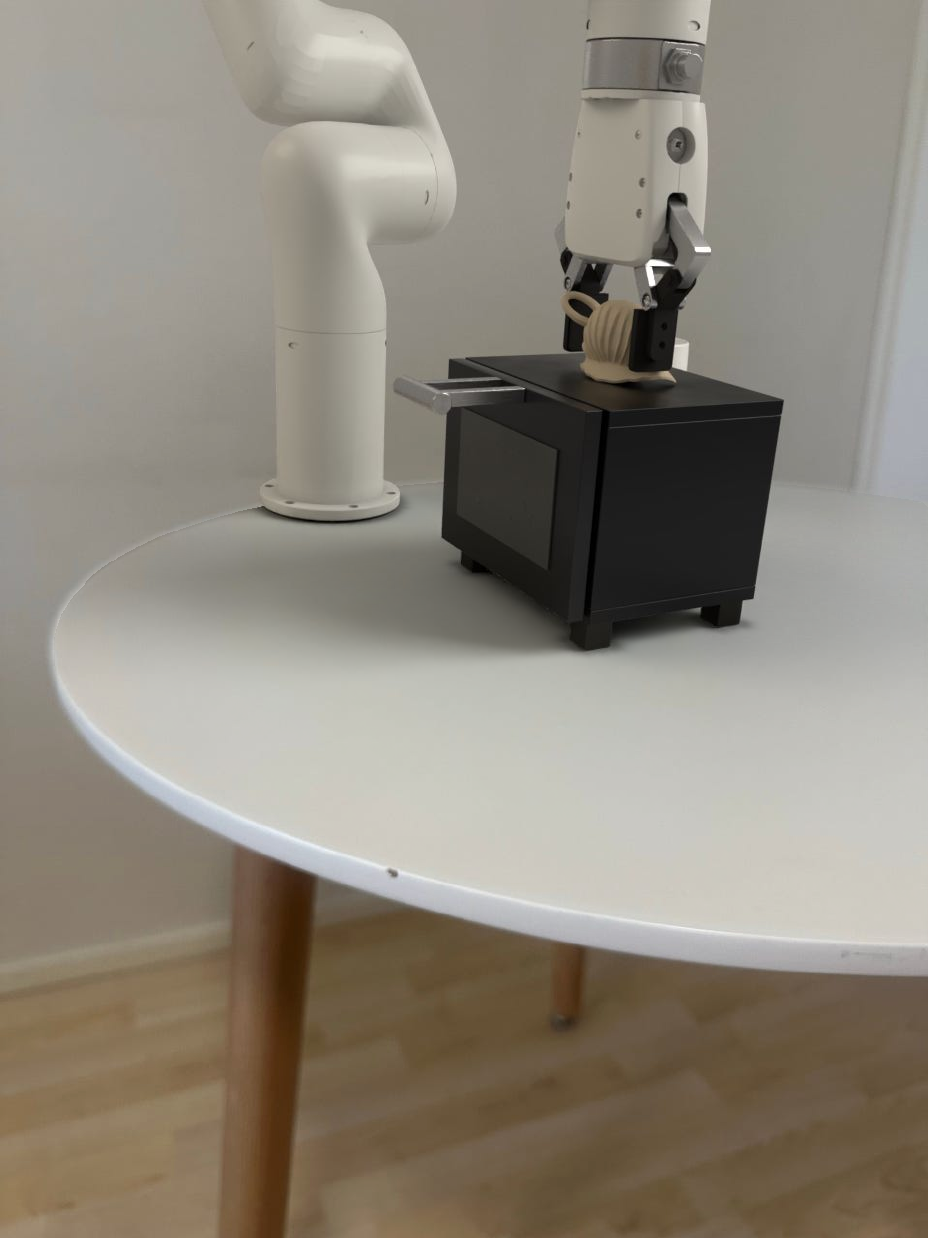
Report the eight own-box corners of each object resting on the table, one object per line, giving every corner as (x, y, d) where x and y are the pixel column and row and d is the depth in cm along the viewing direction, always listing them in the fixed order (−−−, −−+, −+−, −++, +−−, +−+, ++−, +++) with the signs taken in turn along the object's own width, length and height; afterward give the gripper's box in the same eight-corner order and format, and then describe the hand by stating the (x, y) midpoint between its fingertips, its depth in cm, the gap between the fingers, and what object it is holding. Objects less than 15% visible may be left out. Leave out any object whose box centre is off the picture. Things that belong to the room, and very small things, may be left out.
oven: (586, 654, 75) (610, 410, 69) (455, 562, 91) (464, 357, 85) (749, 625, 81) (784, 399, 75) (600, 544, 97) (619, 351, 91)
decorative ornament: (641, 390, 76) (650, 307, 74) (547, 369, 81) (553, 291, 79) (678, 385, 78) (688, 304, 76) (585, 365, 84) (591, 289, 82)
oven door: (468, 639, 71) (480, 414, 66) (354, 547, 86) (356, 359, 81) (583, 620, 74) (603, 406, 69) (454, 536, 89) (463, 355, 84)
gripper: (781, 77, 67) (740, 381, 74) (613, 84, 82) (591, 339, 88) (677, 67, 64) (644, 386, 71) (521, 77, 78) (506, 342, 85)
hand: (615, 358), depth 79 cm, fingers closed on decorative ornament, 7 cm apart
